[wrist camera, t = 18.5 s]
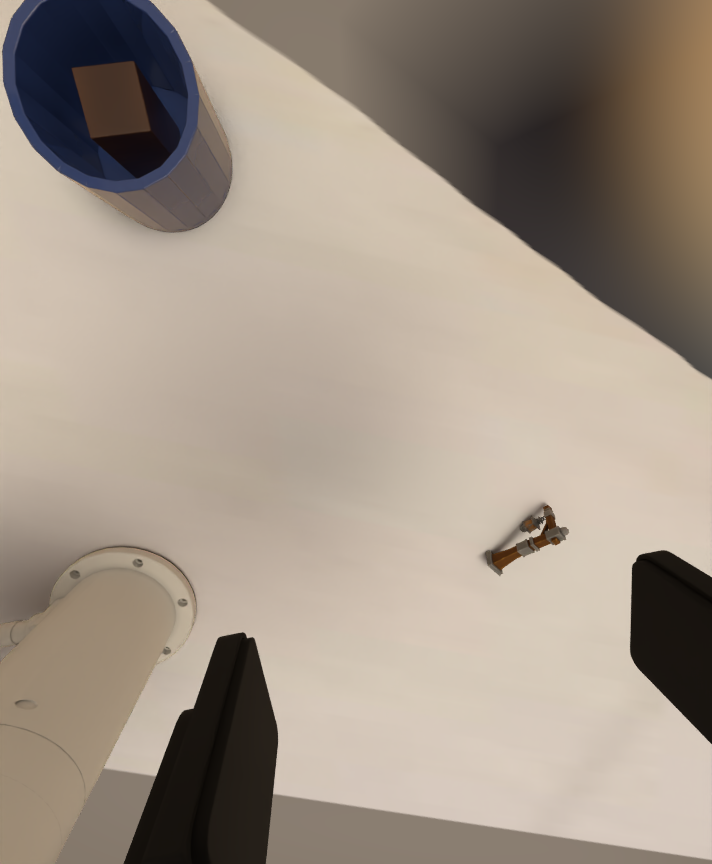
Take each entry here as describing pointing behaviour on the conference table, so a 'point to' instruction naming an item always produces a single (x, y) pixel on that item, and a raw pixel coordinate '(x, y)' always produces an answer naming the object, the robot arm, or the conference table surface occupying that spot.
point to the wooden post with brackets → (529, 541)
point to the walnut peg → (126, 116)
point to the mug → (64, 118)
